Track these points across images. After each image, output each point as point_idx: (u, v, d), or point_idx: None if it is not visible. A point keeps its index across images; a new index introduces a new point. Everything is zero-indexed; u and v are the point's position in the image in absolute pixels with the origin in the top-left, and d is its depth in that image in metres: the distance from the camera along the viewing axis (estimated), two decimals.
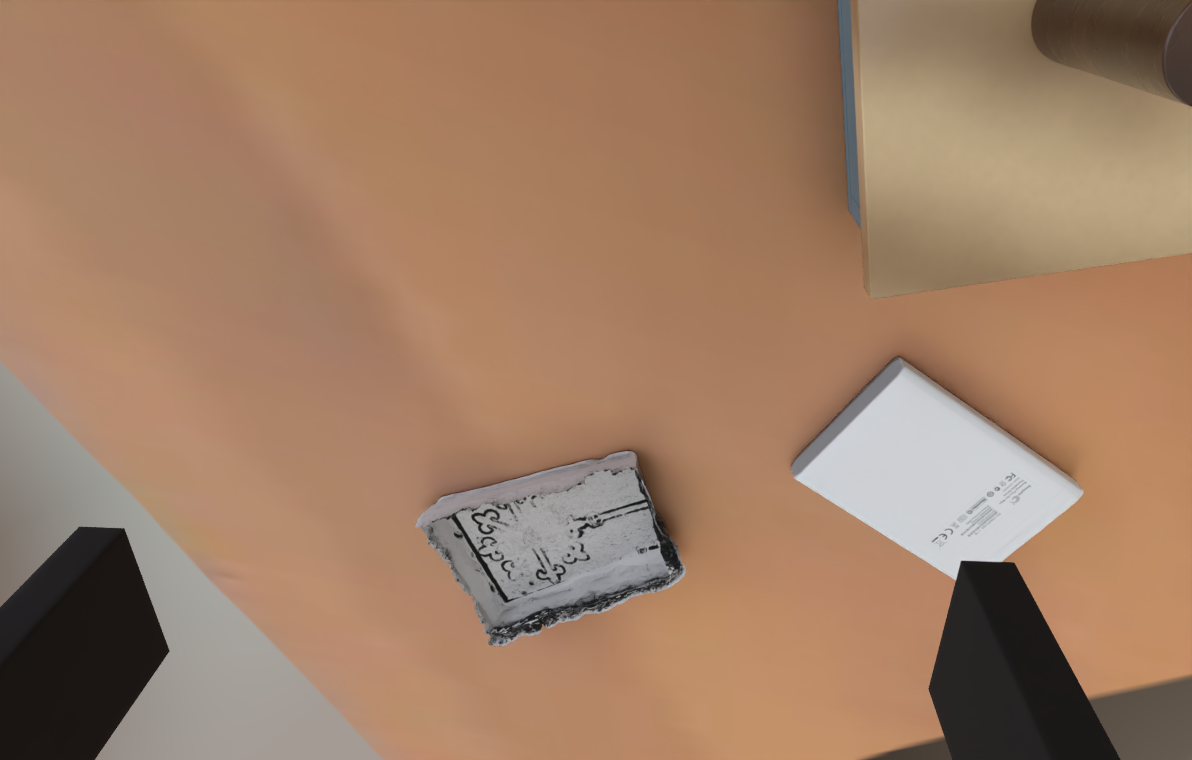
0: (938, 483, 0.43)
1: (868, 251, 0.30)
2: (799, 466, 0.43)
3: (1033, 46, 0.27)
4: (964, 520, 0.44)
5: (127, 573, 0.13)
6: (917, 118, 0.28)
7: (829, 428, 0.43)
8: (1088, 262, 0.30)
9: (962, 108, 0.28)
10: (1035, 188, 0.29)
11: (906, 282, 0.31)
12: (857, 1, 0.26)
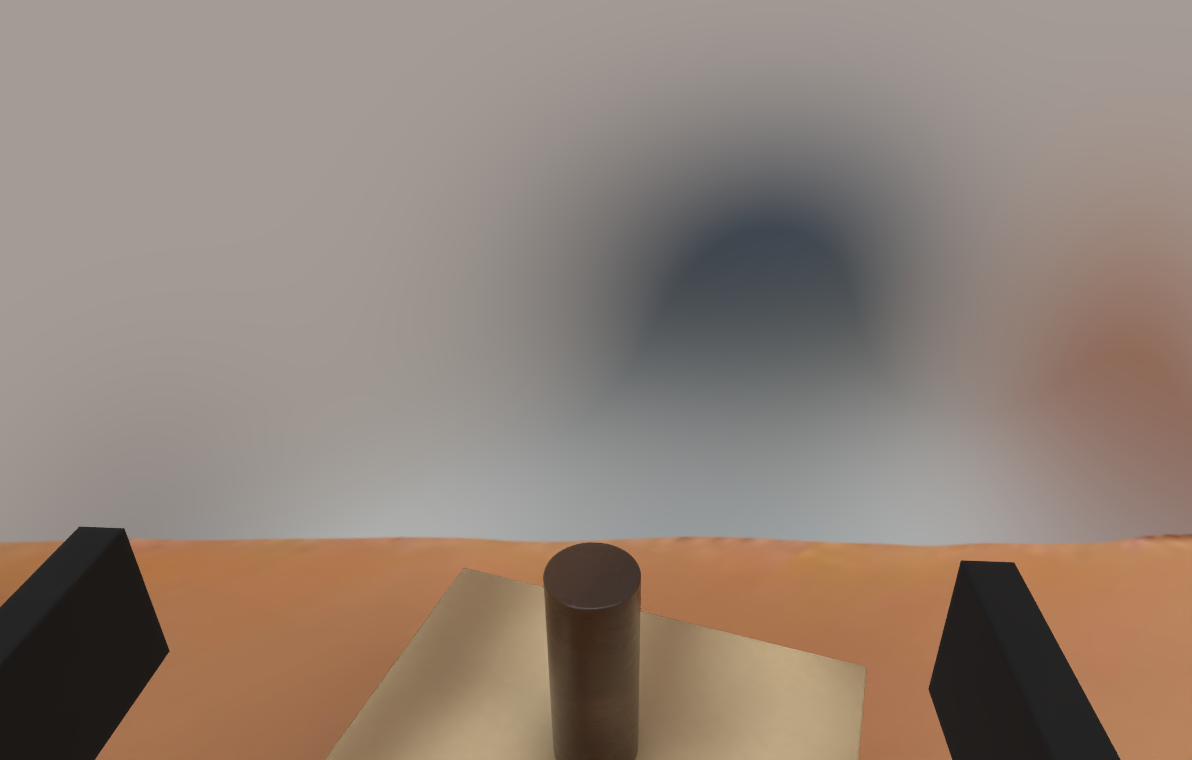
0: None
1: None
2: None
3: None
4: None
5: (127, 573, 0.13)
6: None
7: None
8: None
9: None
10: None
11: None
12: None
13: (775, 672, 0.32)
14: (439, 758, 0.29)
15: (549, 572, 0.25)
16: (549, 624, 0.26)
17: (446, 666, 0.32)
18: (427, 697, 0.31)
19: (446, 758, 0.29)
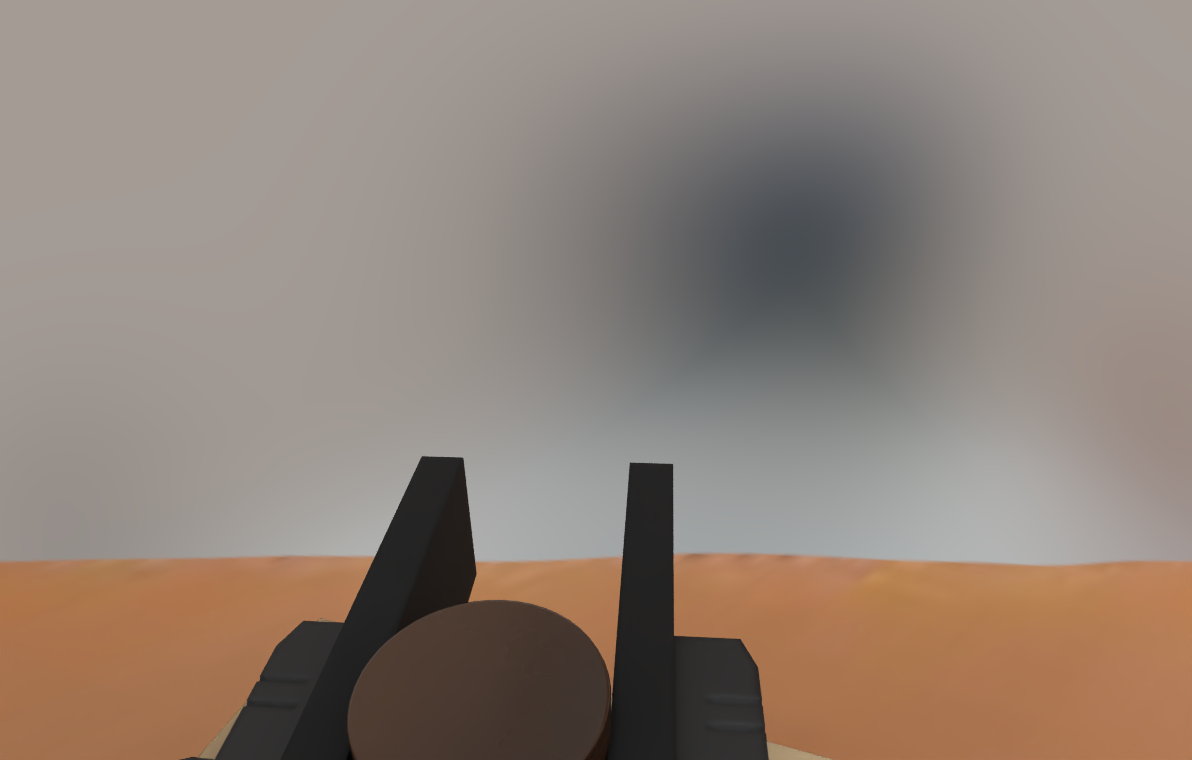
0: None
1: None
2: None
3: None
4: None
5: (463, 498, 0.15)
6: None
7: None
8: None
9: None
10: None
11: None
12: None
13: None
14: None
15: (366, 688, 0.10)
16: None
17: None
18: None
19: None
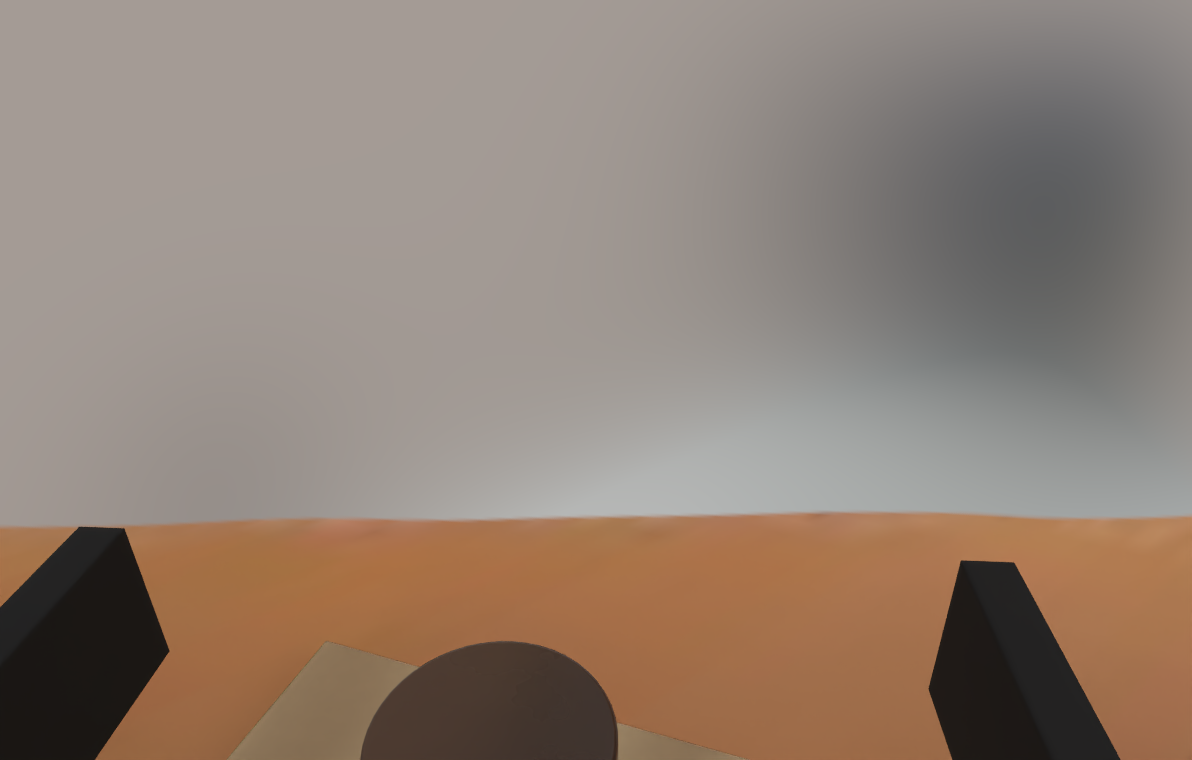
0: None
1: None
2: None
3: None
4: None
5: (126, 573, 0.13)
6: None
7: None
8: None
9: None
10: None
11: None
12: None
13: None
14: None
15: (378, 733, 0.10)
16: None
17: None
18: None
19: None
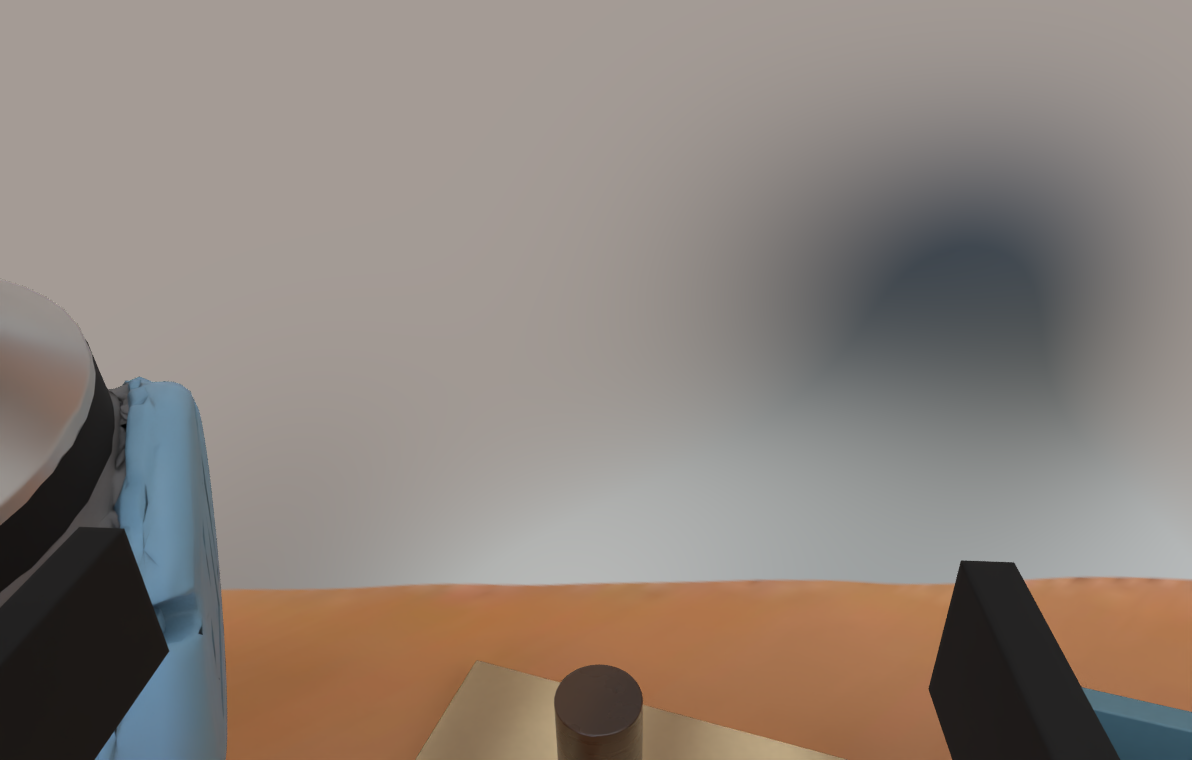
0: None
1: None
2: None
3: None
4: None
5: (127, 573, 0.13)
6: None
7: None
8: None
9: None
10: None
11: None
12: None
13: None
14: None
15: (559, 697, 0.28)
16: (559, 744, 0.28)
17: None
18: None
19: None
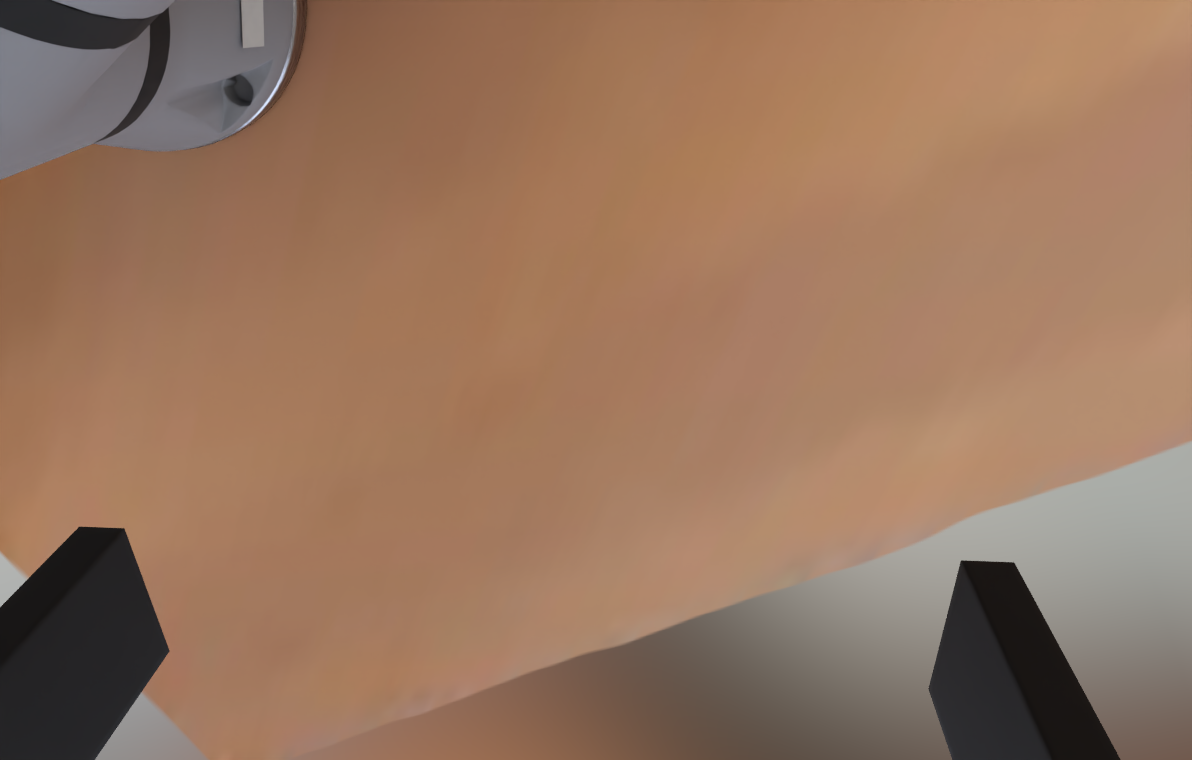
0: None
1: None
2: None
3: None
4: None
5: (126, 573, 0.13)
6: None
7: None
8: None
9: None
10: None
11: None
12: None
13: None
14: None
15: None
16: None
17: None
18: None
19: None
